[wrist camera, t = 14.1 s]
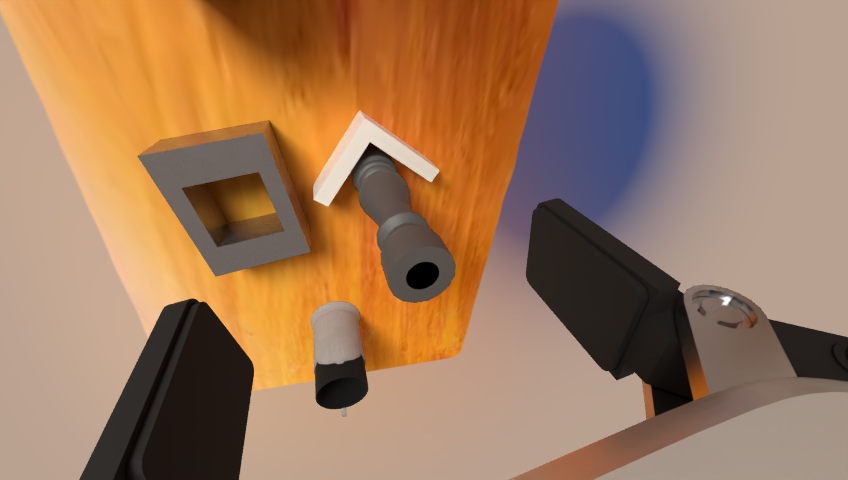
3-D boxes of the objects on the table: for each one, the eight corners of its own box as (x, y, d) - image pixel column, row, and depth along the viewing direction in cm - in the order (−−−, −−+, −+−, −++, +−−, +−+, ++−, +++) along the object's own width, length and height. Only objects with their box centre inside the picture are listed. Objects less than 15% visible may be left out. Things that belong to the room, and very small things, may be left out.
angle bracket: (292, 122, 39) (289, 132, 35) (422, 98, 42) (433, 104, 38) (316, 193, 45) (316, 209, 41) (429, 168, 48) (440, 180, 44)
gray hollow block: (160, 140, 36) (137, 156, 31) (268, 120, 38) (263, 132, 34) (225, 251, 45) (215, 276, 41) (310, 230, 47) (310, 252, 43)
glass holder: (359, 298, 57) (372, 368, 45) (360, 350, 65) (372, 423, 53) (308, 304, 55) (307, 381, 43) (315, 358, 62) (316, 436, 50)
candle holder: (356, 194, 47) (393, 314, 27) (344, 153, 43) (376, 257, 23) (396, 183, 48) (461, 291, 28) (388, 143, 44) (455, 233, 24)
